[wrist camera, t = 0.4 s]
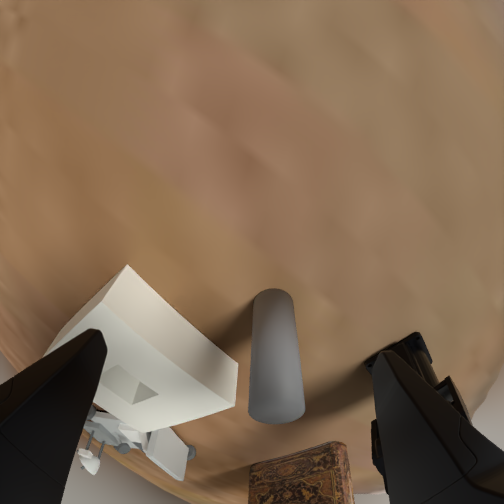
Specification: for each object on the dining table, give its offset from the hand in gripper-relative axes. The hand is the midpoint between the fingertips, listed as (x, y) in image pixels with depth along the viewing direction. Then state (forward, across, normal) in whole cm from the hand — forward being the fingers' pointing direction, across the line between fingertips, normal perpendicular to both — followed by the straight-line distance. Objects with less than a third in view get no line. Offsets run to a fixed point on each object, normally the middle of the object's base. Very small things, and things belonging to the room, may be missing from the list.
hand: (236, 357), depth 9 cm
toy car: (+14, +17, +35) cm, 41 cm away
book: (+14, -9, +41) cm, 44 cm away
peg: (+13, -2, +8) cm, 15 cm away
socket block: (+13, +11, +15) cm, 22 cm away
